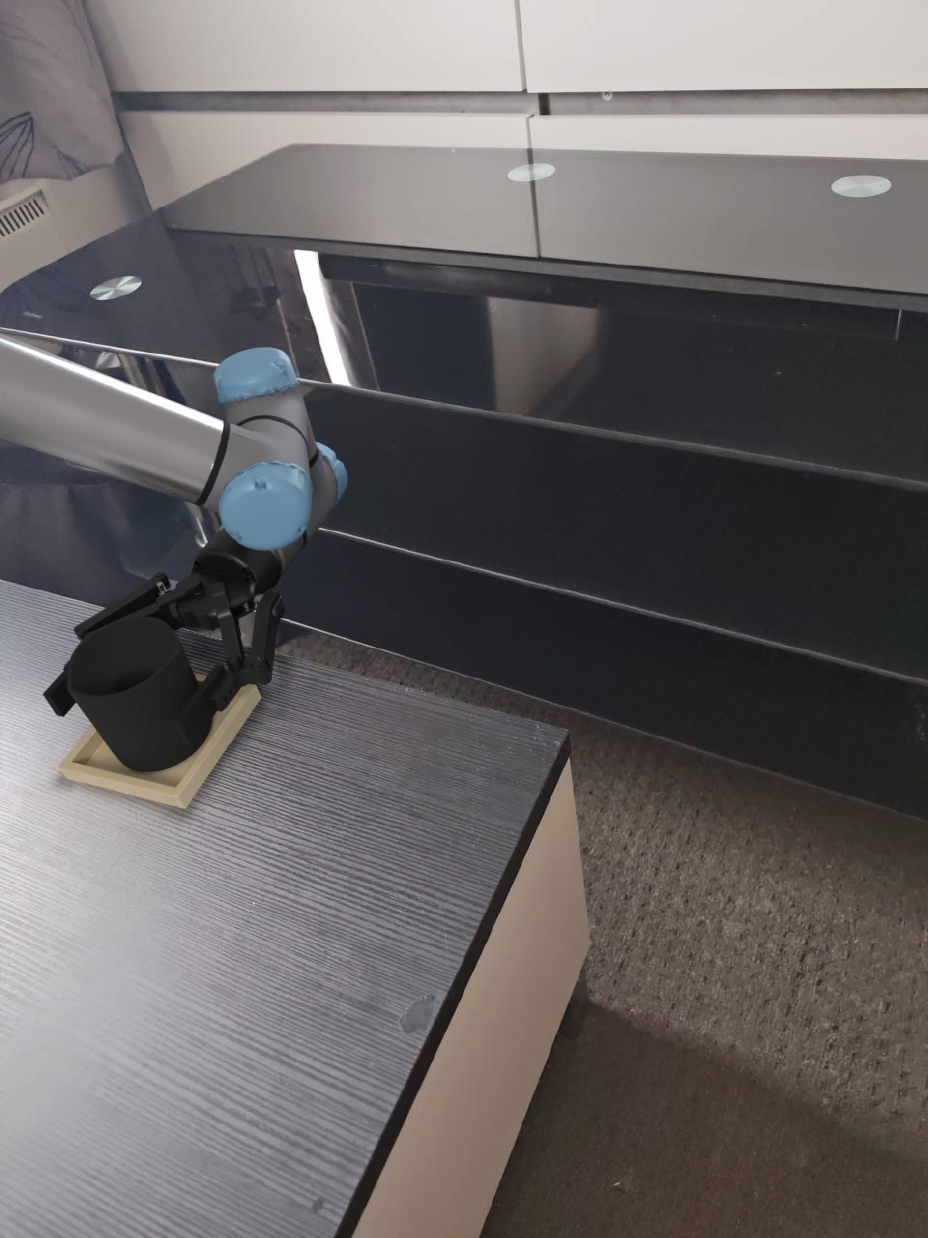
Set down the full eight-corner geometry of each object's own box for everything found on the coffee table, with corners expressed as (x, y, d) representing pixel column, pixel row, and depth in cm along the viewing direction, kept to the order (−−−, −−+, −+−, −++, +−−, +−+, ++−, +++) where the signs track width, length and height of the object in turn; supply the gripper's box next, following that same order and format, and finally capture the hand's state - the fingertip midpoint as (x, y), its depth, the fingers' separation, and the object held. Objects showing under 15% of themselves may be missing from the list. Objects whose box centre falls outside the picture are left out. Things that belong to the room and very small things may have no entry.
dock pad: (68, 781, 79) (57, 767, 78) (152, 678, 88) (143, 663, 86) (186, 811, 75) (177, 797, 73) (263, 699, 83) (256, 684, 82)
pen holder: (237, 707, 82) (199, 625, 76) (177, 789, 76) (129, 709, 69) (155, 688, 86) (111, 609, 79) (91, 765, 80) (37, 687, 73)
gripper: (369, 601, 87) (257, 777, 73) (159, 571, 96) (23, 723, 82) (351, 539, 82) (226, 715, 68) (131, 513, 91) (-19, 664, 77)
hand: (115, 720), depth 75 cm, fingers open, 13 cm apart
